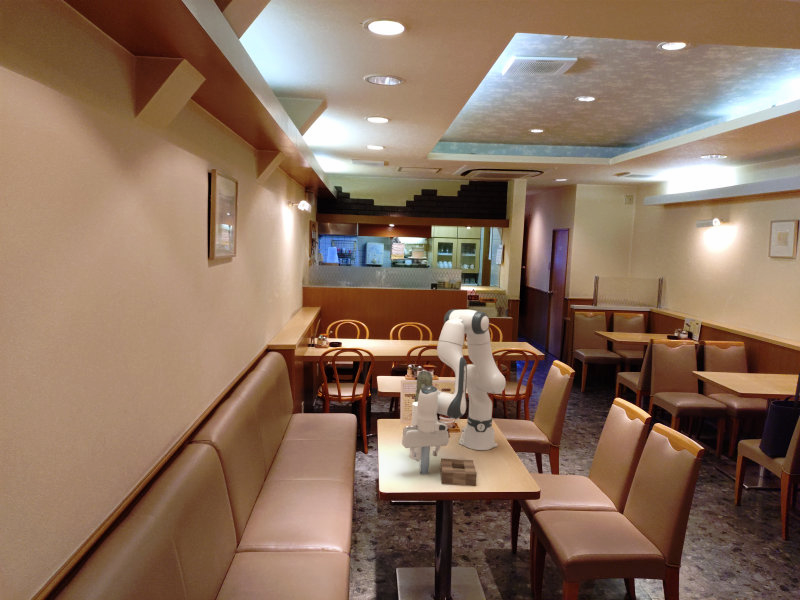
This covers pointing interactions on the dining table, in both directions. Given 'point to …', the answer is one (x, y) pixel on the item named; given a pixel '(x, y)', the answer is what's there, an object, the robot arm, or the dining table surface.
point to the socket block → (458, 472)
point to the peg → (425, 460)
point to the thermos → (423, 382)
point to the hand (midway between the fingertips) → (424, 456)
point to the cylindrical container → (413, 422)
